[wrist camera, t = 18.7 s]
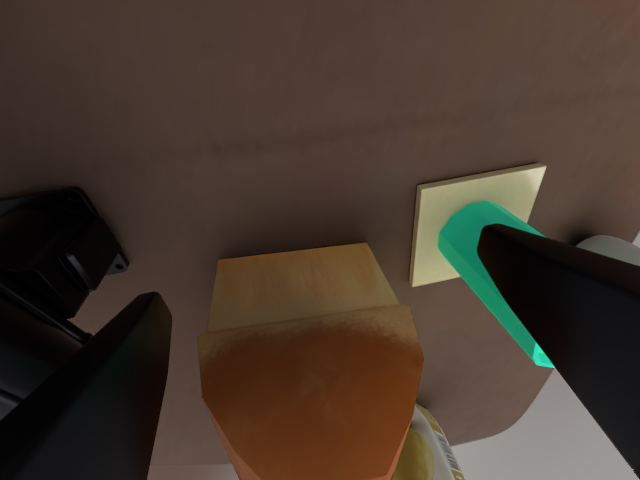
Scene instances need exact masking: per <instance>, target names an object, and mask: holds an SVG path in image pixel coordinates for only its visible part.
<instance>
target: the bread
mask: <svg viewBox="0 0 640 480" xmlns="http://www.w3.org/2000/svg"><path fill="white" fill-rule="evenodd" d="M197 341H198V352H199V364H200V375H201V387H202V398H203V400H204V402H205V405H206V407H207V409H208V411H209V413H210V416H211V418H212V420H213V422H214V424H215V427H216V429H217V431H218V433H219V435H220V438H221V440H222V442H223V444H224V447H225V449H226V451H227V453H228V455H229V458H230V460H231V462H232V464H233V466H234V469H235V471H236V473H237V475H238V477H239V480H393V476H394V471H395V468H396V465H397V462H398V459H399V456H400V453H401V450H402V447H403V444H404V441H405V438H406V435H407V432H408V429H409V426H410V423H411V420H412V417H413V413H414V408H415V403H416V398H417V392H418V387H419V382H420V377H421V372H422V366H423V361H424V357H423V353H422V350H421V346H420V342H419V338H418V335H417V331H416V327H415V324H414V320H413V316H412V313H411V309H410V305H405V304H400V303H399V302H398V300H397V298H396V296H395V294H394V292H393V290H392V289H391V287H390V285H389V283H388V281H387V279H386V277H385V276H384V274H383V272H382V270H381V268H380V266H379V264H378V263H377V261H376V259H375V257H374V255H373V253H372V251H371V250H370V248H369V246H368V244H367V242H366V243H358V244H349V245H341V246H332V247H323V248H315V249H306V250H297V251H289V252H280V253H271V254H263V255H254V256H246V257H237V258H228V259H220V260H218V265H217V271H216V277H215V283H214V289H213V295H212V301H211V308H210V314H209V320H208V326H207V332H206V333H204V334H202V335H200V336H198V337H197Z"/></svg>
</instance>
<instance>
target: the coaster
mask: <svg viewBox="0 0 640 480" xmlns="http://www.w3.org/2000/svg"><path fill="white" fill-rule="evenodd" d="M545 170H546V166H545V165H543V164H541V163H535V164H529V165H524V166H519V167H513V168H508V169H502V170H497V171H492V172H486V173H481V174H475V175H470V176H465V177H459V178H454V179H449V180H443V181H438V182H432V183H427V184H422V185H417V194H416V206H415V217H414V229H413V240H412V252H411V263H410V275H409V283H410V284H411V286H412V287H416V286H420V285H425V284H430V283H434V282H439V281H444V280H448V279H453V278H458V277H461V276H460V275H459V274H458V273H457V272H456V270H455V269H454V268H453V267H452V266H451V265H450V263H449V262H448V261H447V260H446V259H445V257H444V256H443V255H442V253H441V252H440V250H439V249H438V240H439V233H440V231H441V230H442V228H443V227H444V225H445V224H446V222H447V221H448V219H449V218H450V217H451V216H452V215H453V214H455V213H456V212H458V211H459V210H461V209H462V208H464V207H465V206H466V205H468V204H473V203H477V202H482V201H489V202H492V203H495V204H498V205H500V206H502V207H503V208H505V209H506V210H508V211H509V212H510V213H512V214H513V215H515V216H516V217H518V218H519V219H521V220H522V221H523V222H525V223H526V224H527V222H528V219H529V216H530V213H531V210H532V207H533V204H534V201H535V199H536V196H537V193H538V190H539V187H540V184H541V181H542V178H543V176H544V173H545Z"/></svg>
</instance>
